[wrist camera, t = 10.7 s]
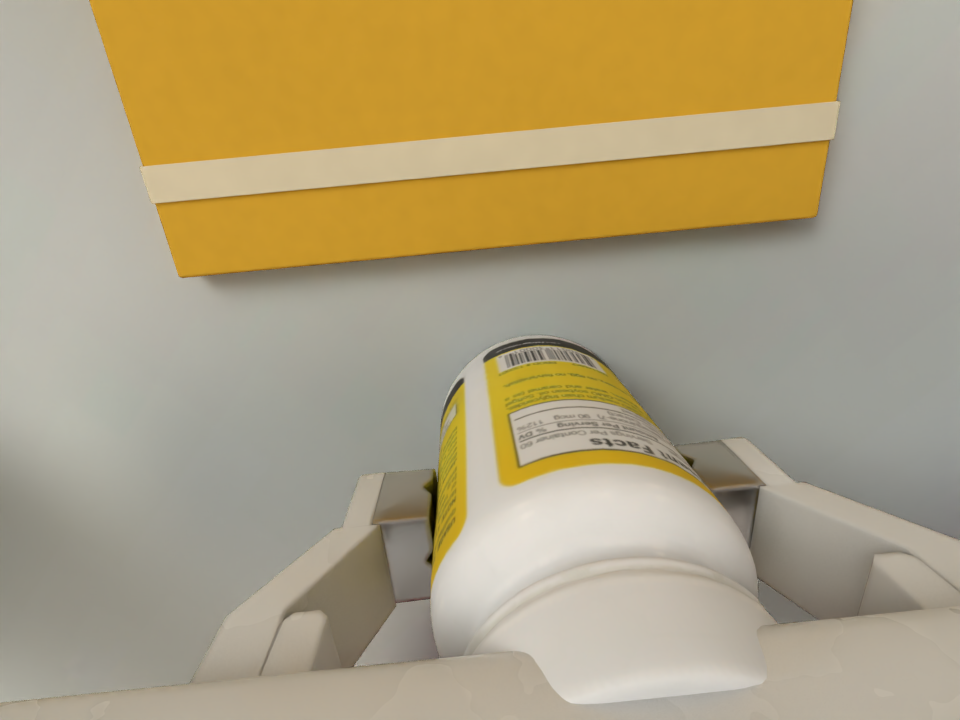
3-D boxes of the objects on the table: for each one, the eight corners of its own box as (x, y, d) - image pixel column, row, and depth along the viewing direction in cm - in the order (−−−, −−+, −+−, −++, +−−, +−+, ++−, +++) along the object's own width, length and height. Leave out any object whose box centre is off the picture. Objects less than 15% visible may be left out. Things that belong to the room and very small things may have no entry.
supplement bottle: (516, 517, 14) (592, 979, 6) (404, 409, 12) (303, 824, 4) (655, 421, 13) (975, 820, 5) (550, 291, 11) (761, 553, 3)
